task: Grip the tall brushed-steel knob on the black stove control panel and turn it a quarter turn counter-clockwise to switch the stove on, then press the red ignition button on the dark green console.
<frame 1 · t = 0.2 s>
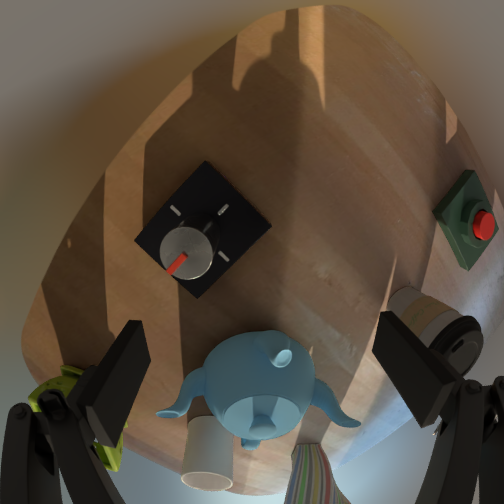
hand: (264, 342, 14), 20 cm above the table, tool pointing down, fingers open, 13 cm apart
vase: (305, 449, 46), on the table
stove knob: (193, 242, 26), point 7 cm above the table, hinge at 0.0°
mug: (208, 432, 43), on the table
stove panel: (203, 227, 33), on the table
ignition button: (483, 225, 29), point 4 cm above the table, slide at 0.1 cm
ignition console: (465, 219, 33), on the table
coffee cup: (402, 304, 37), on the table
flower pot: (98, 391, 40), on the table
teapot: (260, 363, 38), on the table
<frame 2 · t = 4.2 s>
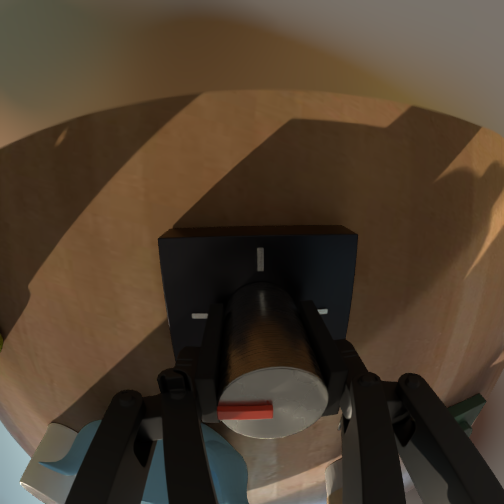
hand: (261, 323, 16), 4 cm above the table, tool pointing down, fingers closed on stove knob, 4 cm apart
stove knob: (266, 353, 13), point 7 cm above the table, hinge at 0.0°, touching gripper
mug: (67, 440, 26), on the table
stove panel: (257, 294, 20), on the table
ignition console: (443, 428, 28), on the table
coffee cup: (344, 465, 28), on the table
teapot: (178, 442, 25), on the table
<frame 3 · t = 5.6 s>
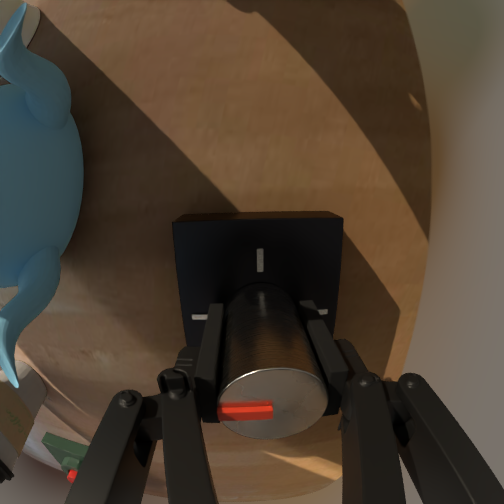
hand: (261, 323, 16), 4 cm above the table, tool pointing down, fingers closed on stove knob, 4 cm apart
stove knob: (266, 353, 13), point 7 cm above the table, hinge at 90.6°, touching gripper
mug: (12, 31, 12), on the table
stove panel: (257, 295, 20), on the table
ignition button: (80, 480, 23), point 4 cm above the table, slide at 0.1 cm
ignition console: (88, 460, 27), on the table
coffee cup: (29, 378, 23), on the table
teapot: (29, 192, 17), on the table
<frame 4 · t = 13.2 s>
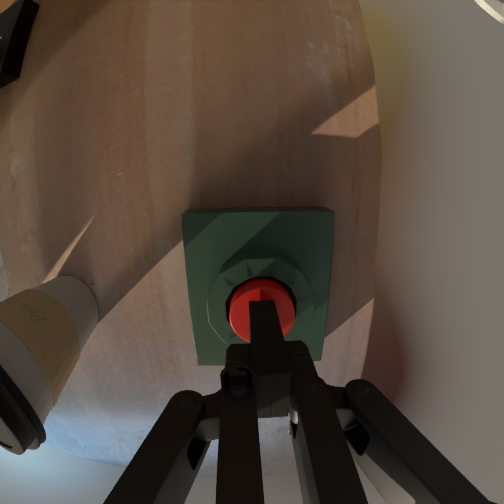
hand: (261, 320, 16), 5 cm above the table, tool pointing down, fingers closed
ignition button: (261, 311, 17), point 4 cm above the table, slide at -0.2 cm, touching gripper
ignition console: (258, 286, 21), on the table
coffee cup: (74, 304, 22), on the table
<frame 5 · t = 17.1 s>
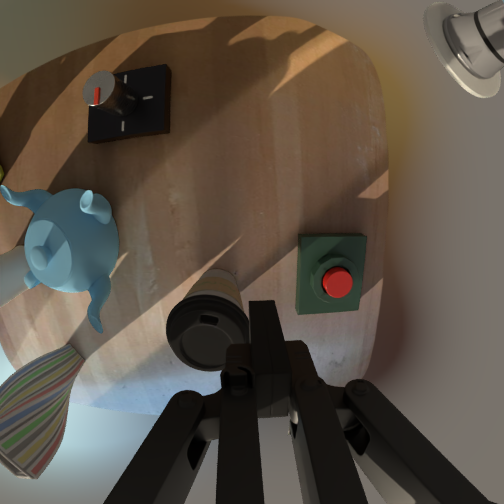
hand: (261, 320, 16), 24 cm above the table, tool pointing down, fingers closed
vase: (72, 356, 45), on the table
stove knob: (111, 95, 27), point 7 cm above the table, hinge at 90.4°
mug: (21, 269, 40), on the table
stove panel: (131, 106, 34), on the table
ignition button: (337, 282, 38), point 4 cm above the table, slide at 0.1 cm
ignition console: (328, 271, 42), on the table
coffee cup: (217, 286, 42), on the table
teapot: (87, 234, 39), on the table
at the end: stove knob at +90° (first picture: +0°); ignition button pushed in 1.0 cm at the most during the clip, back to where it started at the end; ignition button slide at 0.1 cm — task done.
